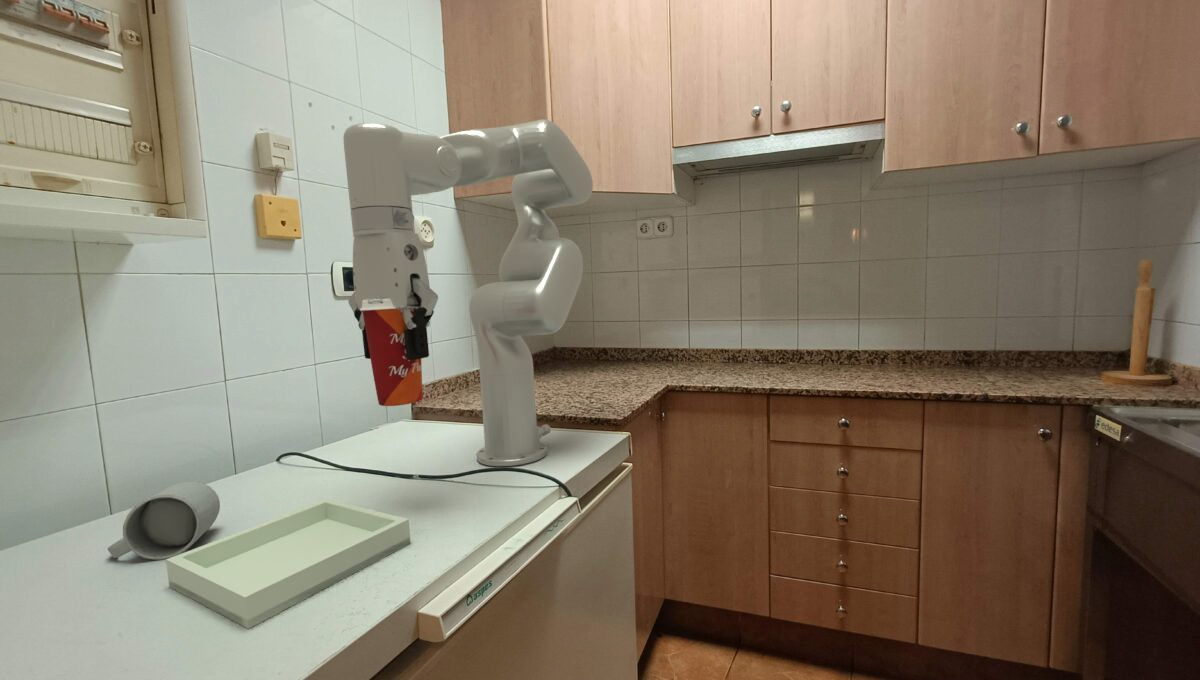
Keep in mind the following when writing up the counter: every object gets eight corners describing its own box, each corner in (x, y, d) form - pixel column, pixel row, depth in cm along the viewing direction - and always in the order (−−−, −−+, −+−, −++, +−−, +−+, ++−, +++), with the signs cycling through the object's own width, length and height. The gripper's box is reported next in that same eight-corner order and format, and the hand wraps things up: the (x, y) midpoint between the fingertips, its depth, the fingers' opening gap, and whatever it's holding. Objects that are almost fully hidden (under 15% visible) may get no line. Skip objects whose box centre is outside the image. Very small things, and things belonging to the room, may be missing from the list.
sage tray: (330, 520, 71) (328, 498, 71) (410, 543, 63) (408, 519, 63) (169, 586, 56) (165, 559, 55) (248, 629, 47) (245, 597, 47)
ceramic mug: (227, 525, 71) (219, 470, 70) (203, 552, 63) (194, 490, 62) (130, 542, 67) (122, 484, 67) (93, 573, 60) (83, 508, 59)
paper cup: (410, 407, 67) (399, 297, 65) (357, 408, 68) (345, 300, 67) (441, 394, 74) (431, 295, 73) (392, 395, 76) (382, 298, 75)
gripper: (452, 220, 68) (464, 355, 70) (366, 233, 77) (378, 353, 78) (404, 215, 61) (418, 364, 63) (316, 230, 70) (331, 360, 72)
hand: (396, 357), depth 71 cm, fingers closed on paper cup, 7 cm apart
